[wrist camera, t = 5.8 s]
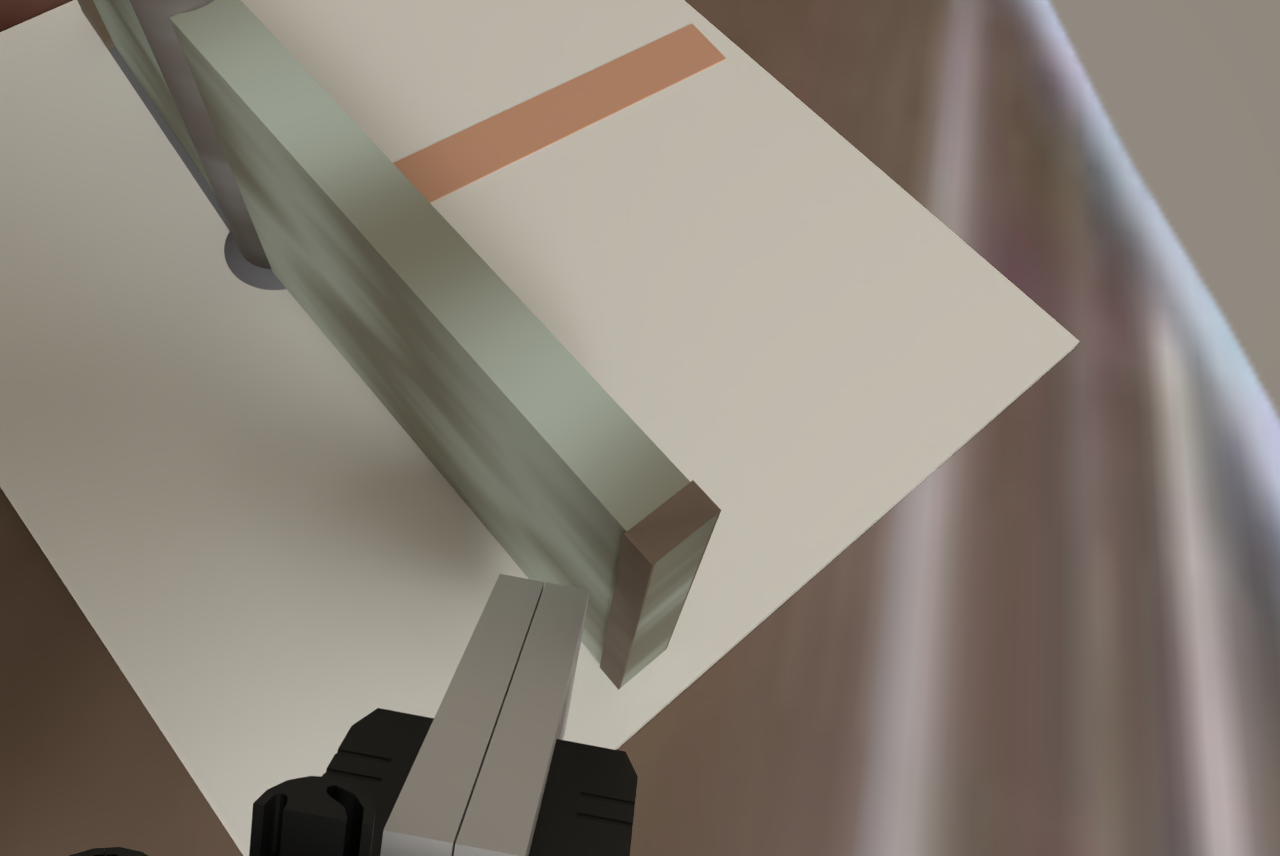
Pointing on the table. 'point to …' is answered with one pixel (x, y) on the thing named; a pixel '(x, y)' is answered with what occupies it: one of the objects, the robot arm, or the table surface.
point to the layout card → (539, 276)
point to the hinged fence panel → (436, 333)
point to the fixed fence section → (138, 61)
